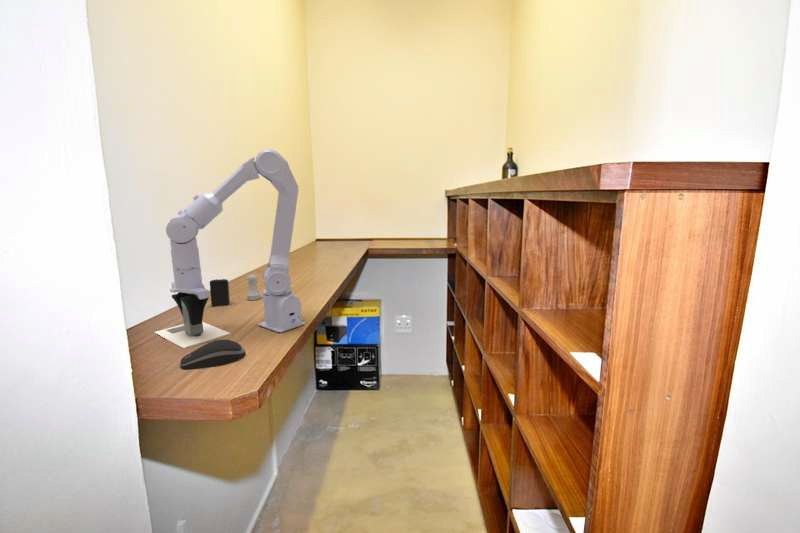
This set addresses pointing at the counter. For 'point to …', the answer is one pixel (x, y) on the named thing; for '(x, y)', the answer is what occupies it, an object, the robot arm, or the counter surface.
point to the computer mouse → (213, 355)
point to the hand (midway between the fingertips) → (193, 322)
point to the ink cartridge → (219, 292)
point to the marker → (188, 326)
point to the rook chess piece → (253, 288)
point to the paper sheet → (185, 340)
